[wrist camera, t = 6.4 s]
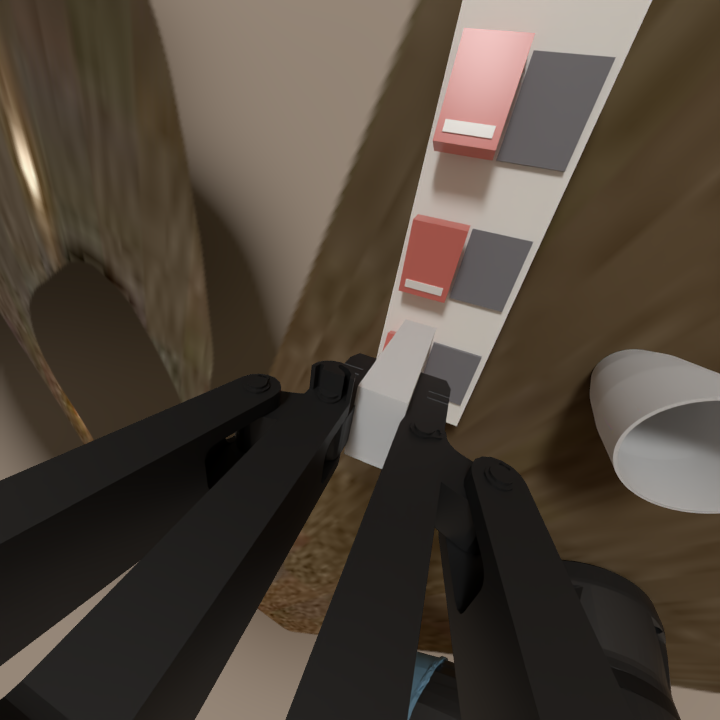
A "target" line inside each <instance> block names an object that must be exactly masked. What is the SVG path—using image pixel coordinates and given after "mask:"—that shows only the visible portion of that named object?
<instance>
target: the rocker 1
mask: <svg viewBox="0 0 720 720" xmlns="http://www.w3.org/2000/svg"><path fill="white" fill-rule="evenodd" d="M470 226H471V225H466V224H462V223H457V222H452V221H448V220H443V219H439V218H434V217H429V216H425V215H420V214H418V215H417V216H416V217H415V218H414V219H413V222H412V227H411V232H410V237H409V242H408V247H407V251H406V256H405V261H404V266H403V271H402V276H401V280H400V285H399V291H402V292H406V293H410V294H413V295H417V296H420V297H424V298H427V299H431V300H435V301H438V302H442V303H445V300H446V297H447V294H448V291H449V288H450V285H451V282H452V279H453V276H454V273H455V270H456V267H457V264H458V261H459V258H460V256H461V253H462V250H463V247H464V244H465V241H466V238H467V235H468V232H469V229H470Z"/></svg>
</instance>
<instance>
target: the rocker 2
mask: <svg viewBox="0 0 720 720" xmlns="http://www.w3.org/2000/svg"><path fill="white" fill-rule="evenodd" d="M534 36H535V33H529V32H515V31H502V30H488V29H474V28H464V29H463V33H462V37H461V40H460V44H459V47H458V51H457V54H456V58H455V62H454V65H453V69H452V72H451V76H450V80H449V83H448V87H447V90H446V94H445V98H444V101H443V105H442V108H441V112H440V116H439V119H438V123H437V126H436V130H435V134H434V137H433V147H434V151H438V152H444V153H450V154H456V155H462V156H468V157H474V158H480V159H486V160H493V157H494V155H495V152H496V149H497V146H498V143H499V140H500V137H501V134H502V131H503V128H504V125H505V122H506V119H507V116H508V113H509V110H510V107H511V104H512V101H513V98H514V95H515V93H516V90H517V87H518V84H519V81H520V78H521V75H522V72H523V69H524V66H525V63H526V60H527V57H528V54H529V51H530V48H531V45H532V42H533V39H534Z"/></svg>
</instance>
